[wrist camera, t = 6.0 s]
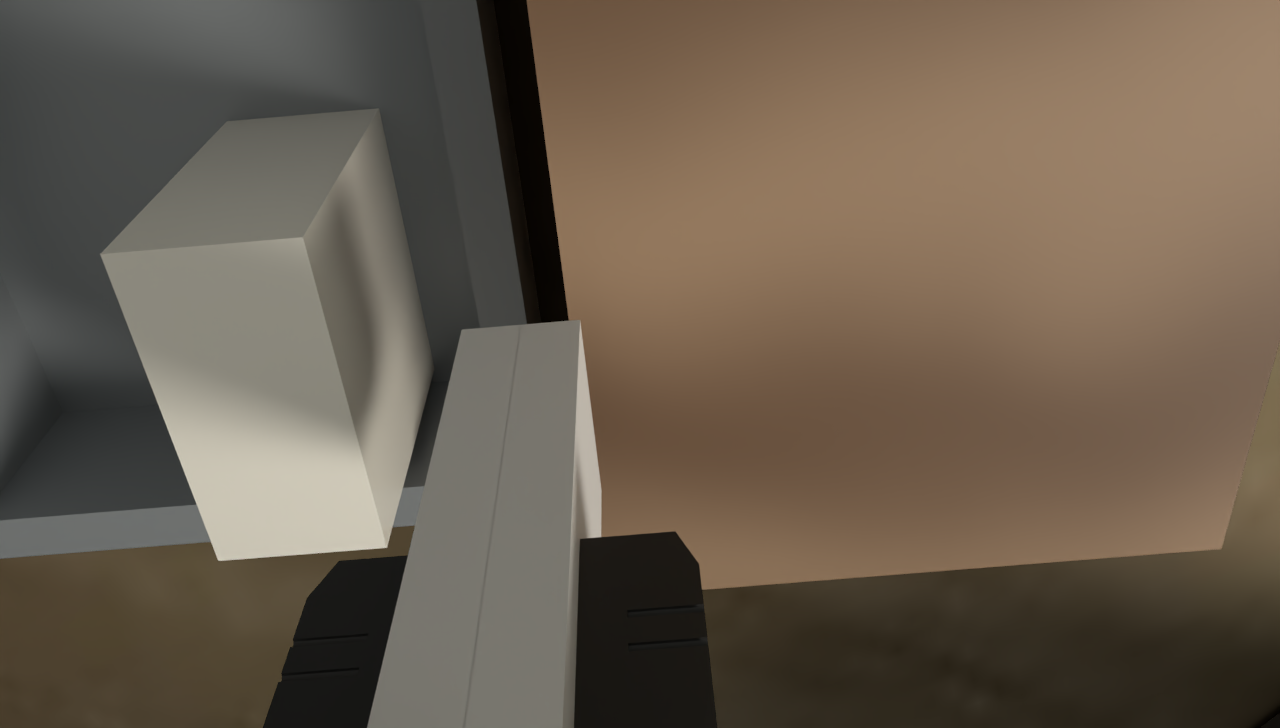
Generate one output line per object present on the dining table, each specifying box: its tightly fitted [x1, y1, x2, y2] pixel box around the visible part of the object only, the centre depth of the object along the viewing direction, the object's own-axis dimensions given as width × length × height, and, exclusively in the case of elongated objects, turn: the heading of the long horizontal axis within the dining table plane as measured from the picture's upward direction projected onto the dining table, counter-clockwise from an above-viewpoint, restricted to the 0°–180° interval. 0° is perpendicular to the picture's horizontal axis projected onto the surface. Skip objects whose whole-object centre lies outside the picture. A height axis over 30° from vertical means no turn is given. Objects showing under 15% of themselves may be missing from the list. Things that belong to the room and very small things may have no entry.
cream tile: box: [100, 108, 435, 561], centre depth 16 cm, size 5×5×2 cm
